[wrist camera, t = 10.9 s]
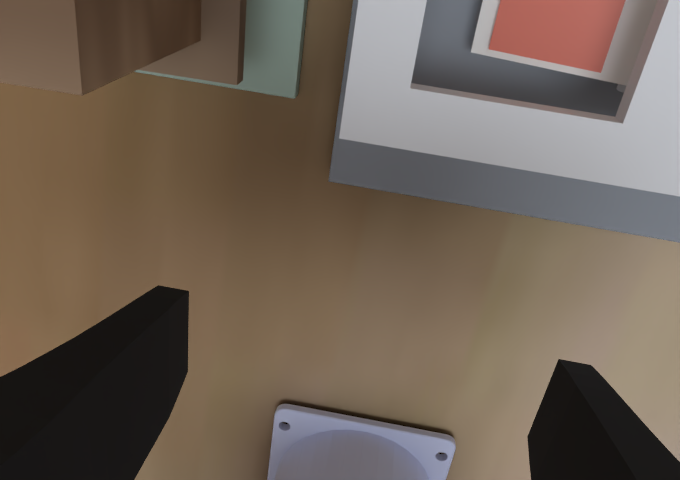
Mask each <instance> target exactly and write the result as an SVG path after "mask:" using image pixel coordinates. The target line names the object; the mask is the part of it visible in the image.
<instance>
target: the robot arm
mask: <svg viewBox="0 0 680 480" xmlns="http://www.w3.org/2000/svg"><path fill="white" fill-rule="evenodd" d="M188 310H189V291H186V290H180V289H175V288H169V287H164V286H157V287H155V288H154V289H152V290H150V291H149V292H147V293H145V294H144V295H142V296H141V297H139V298H137V299H136V300H134V301H133V302H131V303H130V304H128V305H126V306H125V307H123V308H122V309H120V310H119V311H117V312H115V313H114V314H112V315H111V316H109V317H107V318H106V319H104V320H102V321H101V322H99V323H98V324H96V325H94V326H93V327H91V328H89V329H88V330H86V331H84V332H83V333H81V334H80V335H78V336H76V337H75V338H73V339H71V340H69V341H67V342H66V343H64V344H62V345H60V346H58V347H56V348H55V349H53V350H51V351H49V352H47V353H46V354H44V355H42V356H40V357H38V358H37V359H35V360H33V361H31V362H29V363H27V364H26V365H24V366H22V367H20V368H18V369H16V370H14V371H12V372H10V373H8V374H6V375H4V376H1V377H0V480H134V479H135V477H136V475H137V474H138V472H139V470H140V468H141V467H142V465H143V463H144V461H145V459H146V458H147V456H148V454H149V452H150V451H151V449H152V447H153V445H154V444H155V442H156V440H157V438H158V436H159V435H160V433H161V431H162V429H163V427H164V426H165V424H166V422H167V420H168V418H169V416H170V414H171V412H172V409H173V407H174V404H175V402H176V400H177V397H178V395H179V392H180V390H181V387H182V385H183V382H184V380H185V377H186V375H187V372H188ZM282 422H287V423H288V424H284V423H282ZM528 448H529V461H530V472H531V480H680V462H679V461H678V460H677V459H676V458H675V457H674V456H673V455H672V454H671V452H670V451H669V450H668V449H667V448H666V447H665V446H664V445H663V444H662V443H661V442H660V441H659V439H658V438H657V437H656V436H655V435H654V434H653V433H652V432H651V431H650V430H649V428H648V427H647V426H646V425H645V424H644V423H643V422H642V421H641V420H640V418H639V417H638V416H637V415H636V414H635V413H634V412H633V411H632V409H631V408H630V407H629V406H628V405H627V404H626V403H625V402H624V400H623V399H622V398H621V397H620V396H619V395H618V394H617V393H616V391H615V390H614V389H613V388H612V387H611V386H610V385H609V384H608V382H607V381H606V380H605V379H604V378H603V377H602V376H601V375H600V374H599V373H598V372H597V371H596V370H595V369H594V368H593V367H592V366H591V365H587V364H582V363H577V362H571V361H566V360H560V359H559V360H558V362H557V365H556V367H555V370H554V372H553V375H552V377H551V380H550V382H549V385H548V387H547V390H546V392H545V395H544V397H543V400H542V402H541V405H540V407H539V409H538V412H537V414H536V417H535V419H534V422H533V424H532V427H531V429H530V432H529V434H528ZM455 449H456V445H455V440H454V438H453V437H451V436H450V435H447V434H443V433H437V432H432V431H427V430H422V429H416V428H411V427H406V426H401V425H396V424H390V423H385V422H380V421H375V420H370V419H364V418H359V417H354V416H349V415H343V414H338V413H333V412H328V411H323V410H317V409H312V408H307V407H302V406H297V405H291V404H281V405H279V406H278V407H277V409H276V412H275V415H274V424H273V433H272V442H271V451H270V460H269V469H268V478H267V480H446V478H447V475H448V472H449V468H450V465H451V462H452V459H453V456H454V453H455ZM439 452H443V453H444V454H439Z"/></svg>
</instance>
